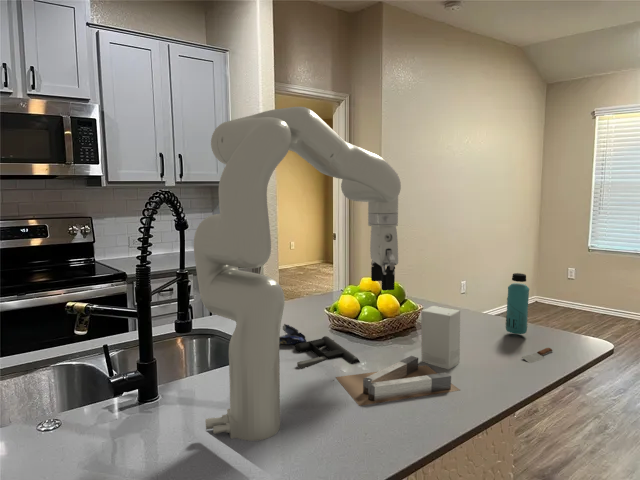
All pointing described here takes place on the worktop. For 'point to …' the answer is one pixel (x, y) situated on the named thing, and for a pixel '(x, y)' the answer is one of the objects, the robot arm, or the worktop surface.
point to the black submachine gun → (322, 343)
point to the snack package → (291, 336)
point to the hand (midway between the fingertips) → (382, 285)
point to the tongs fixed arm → (409, 386)
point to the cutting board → (355, 389)
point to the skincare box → (440, 337)
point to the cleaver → (537, 355)
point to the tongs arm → (392, 372)
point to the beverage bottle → (517, 305)
